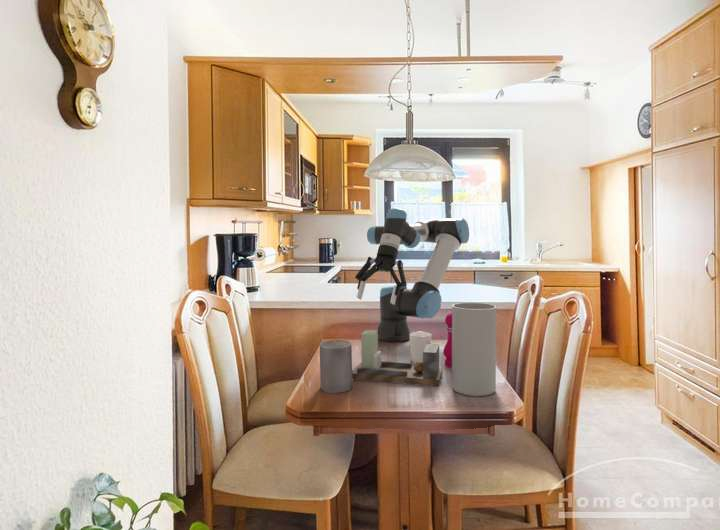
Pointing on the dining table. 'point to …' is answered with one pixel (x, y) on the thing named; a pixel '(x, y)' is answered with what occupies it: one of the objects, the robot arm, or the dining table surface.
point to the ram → (370, 349)
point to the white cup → (418, 344)
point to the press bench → (405, 370)
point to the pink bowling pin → (448, 341)
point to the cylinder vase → (474, 348)
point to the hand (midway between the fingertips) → (375, 301)
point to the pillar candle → (336, 366)
